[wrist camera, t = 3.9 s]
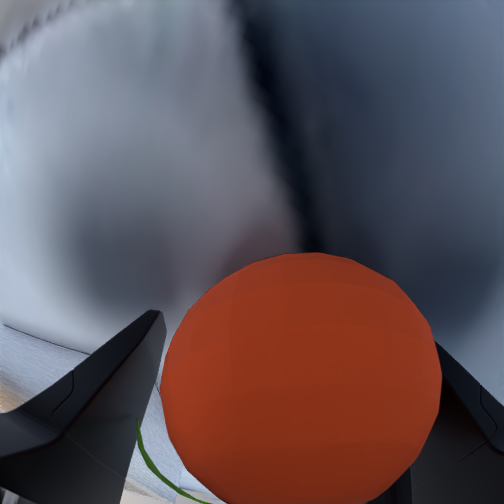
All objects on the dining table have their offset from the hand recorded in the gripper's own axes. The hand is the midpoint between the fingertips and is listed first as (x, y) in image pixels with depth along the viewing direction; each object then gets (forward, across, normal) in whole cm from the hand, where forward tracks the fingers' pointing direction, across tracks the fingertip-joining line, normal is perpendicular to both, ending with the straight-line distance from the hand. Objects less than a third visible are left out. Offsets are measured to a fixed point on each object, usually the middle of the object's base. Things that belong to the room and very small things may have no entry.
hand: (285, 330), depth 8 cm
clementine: (+1, 0, 0) cm, 1 cm away
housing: (+1, +12, +11) cm, 16 cm away
